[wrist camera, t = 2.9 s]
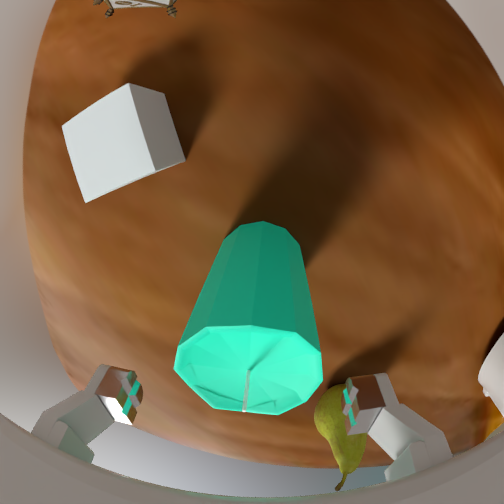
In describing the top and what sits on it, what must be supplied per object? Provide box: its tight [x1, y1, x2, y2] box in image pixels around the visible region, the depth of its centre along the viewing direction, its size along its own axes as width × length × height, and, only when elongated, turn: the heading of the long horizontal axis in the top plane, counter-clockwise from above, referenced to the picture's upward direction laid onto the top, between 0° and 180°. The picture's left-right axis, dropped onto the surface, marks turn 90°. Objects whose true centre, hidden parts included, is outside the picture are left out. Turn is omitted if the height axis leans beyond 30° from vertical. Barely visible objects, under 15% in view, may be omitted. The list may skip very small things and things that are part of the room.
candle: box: [174, 221, 323, 415], centre depth 14 cm, size 6×6×12 cm
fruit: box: [314, 384, 368, 491], centre depth 19 cm, size 6×6×12 cm
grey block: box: [62, 83, 186, 203], centre depth 14 cm, size 5×5×5 cm
